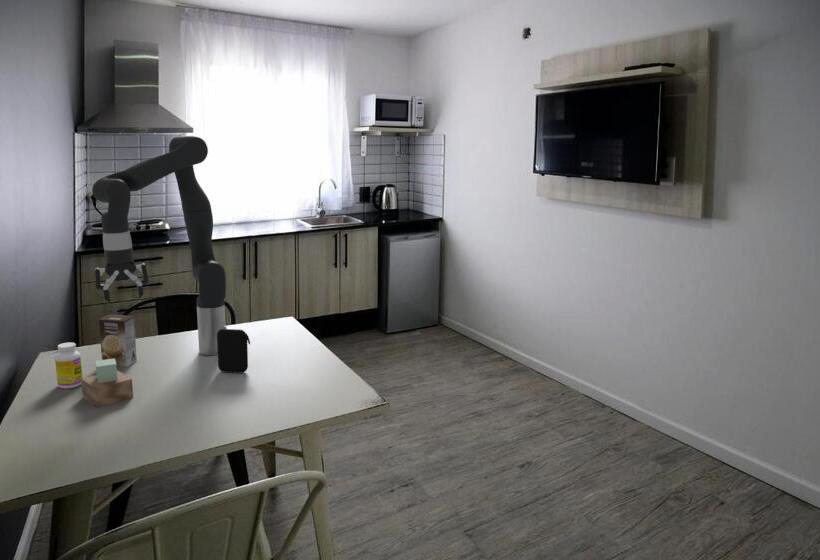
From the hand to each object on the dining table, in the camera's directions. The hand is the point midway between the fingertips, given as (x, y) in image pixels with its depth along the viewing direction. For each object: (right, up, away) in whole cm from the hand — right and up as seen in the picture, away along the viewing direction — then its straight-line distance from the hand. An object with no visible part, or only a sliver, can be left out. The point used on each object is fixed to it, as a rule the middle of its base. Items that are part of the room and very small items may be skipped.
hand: (124, 299), depth 177 cm
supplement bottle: (-17, -26, +1) cm, 31 cm away
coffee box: (-11, -22, +19) cm, 31 cm away
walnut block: (-1, -29, -7) cm, 29 cm away
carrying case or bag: (+29, -25, +15) cm, 41 cm away
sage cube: (-1, -23, -8) cm, 24 cm away
